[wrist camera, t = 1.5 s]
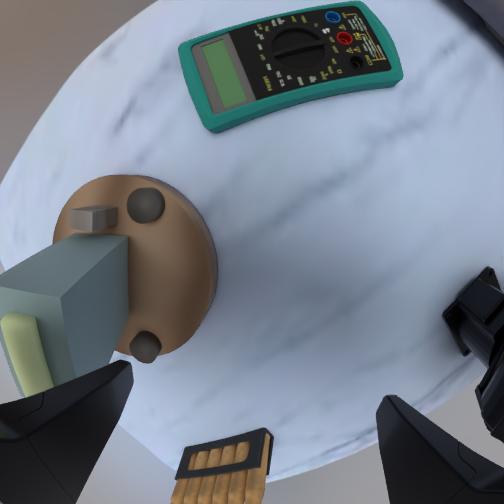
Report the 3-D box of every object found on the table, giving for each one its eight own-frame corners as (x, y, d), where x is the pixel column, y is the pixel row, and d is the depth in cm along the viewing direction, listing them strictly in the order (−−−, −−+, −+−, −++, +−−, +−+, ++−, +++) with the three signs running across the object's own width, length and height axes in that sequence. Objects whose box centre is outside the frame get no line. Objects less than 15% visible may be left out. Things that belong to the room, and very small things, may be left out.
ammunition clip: (265, 426, 24) (252, 530, 12) (274, 436, 24) (265, 536, 13) (184, 447, 26) (154, 527, 15) (194, 455, 26) (167, 534, 15)
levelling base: (227, 182, 19) (207, 181, 14) (211, 357, 22) (193, 399, 17) (71, 173, 20) (26, 174, 15) (76, 320, 23) (42, 346, 18)
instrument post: (128, 236, 18) (43, 314, 7) (129, 317, 19) (81, 435, 8) (76, 232, 17) (-32, 295, 6) (81, 310, 18) (11, 412, 7)
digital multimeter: (400, 87, 16) (415, 75, 14) (211, 138, 19) (199, 130, 16) (361, 13, 15) (370, -5, 12) (184, 58, 17) (170, 42, 15)
